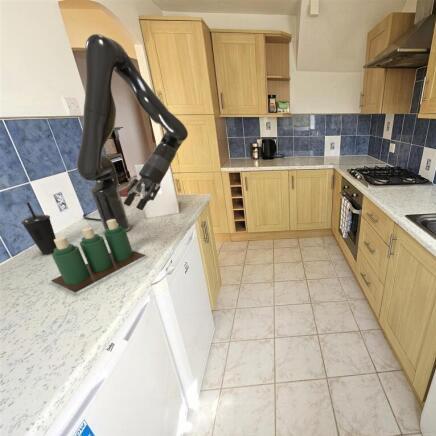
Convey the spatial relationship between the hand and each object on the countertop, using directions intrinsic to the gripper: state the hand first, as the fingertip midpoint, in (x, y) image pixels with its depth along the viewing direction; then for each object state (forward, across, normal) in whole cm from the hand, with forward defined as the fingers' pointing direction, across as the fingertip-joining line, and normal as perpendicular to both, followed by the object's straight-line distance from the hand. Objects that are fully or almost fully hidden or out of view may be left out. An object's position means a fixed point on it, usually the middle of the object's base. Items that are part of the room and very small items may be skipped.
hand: (132, 207), depth 87 cm
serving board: (+23, +1, +2) cm, 23 cm away
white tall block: (-8, -34, +33) cm, 49 cm away
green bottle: (+17, 0, +6) cm, 18 cm away
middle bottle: (+22, +1, +1) cm, 22 cm away
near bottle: (+27, +2, -4) cm, 27 cm away
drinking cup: (+26, -31, -1) cm, 40 cm away
